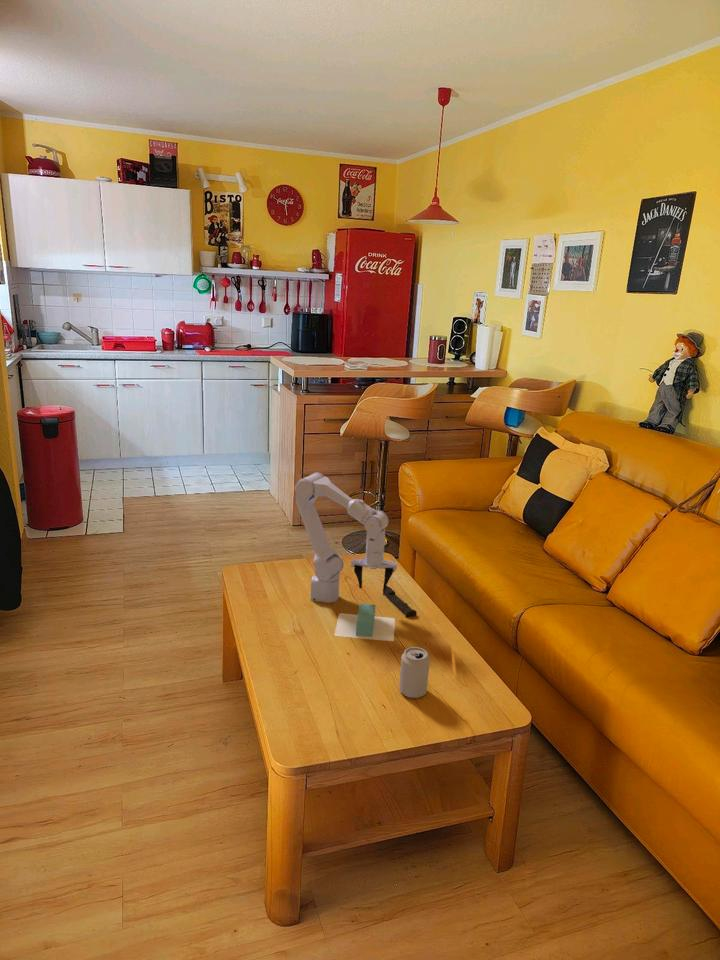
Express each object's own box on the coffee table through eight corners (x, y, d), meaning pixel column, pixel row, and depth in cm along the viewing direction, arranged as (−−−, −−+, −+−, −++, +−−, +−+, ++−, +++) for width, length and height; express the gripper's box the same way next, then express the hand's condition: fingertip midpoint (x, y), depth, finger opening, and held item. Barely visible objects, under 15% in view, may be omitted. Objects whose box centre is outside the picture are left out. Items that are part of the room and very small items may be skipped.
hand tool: (416, 620, 214) (417, 608, 212) (405, 622, 212) (406, 609, 211) (390, 595, 230) (391, 582, 229) (380, 596, 228) (380, 584, 227)
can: (418, 703, 172) (422, 663, 168) (393, 693, 176) (396, 654, 172) (431, 689, 178) (435, 650, 174) (406, 680, 182) (410, 641, 178)
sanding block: (355, 635, 200) (356, 620, 198) (358, 617, 210) (359, 603, 209) (372, 636, 199) (373, 622, 198) (374, 618, 210) (375, 604, 208)
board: (333, 640, 199) (334, 635, 199) (339, 617, 213) (339, 613, 212) (393, 645, 198) (393, 641, 198) (394, 622, 212) (395, 618, 211)
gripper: (351, 552, 206) (348, 591, 210) (397, 556, 205) (394, 595, 209) (353, 543, 212) (351, 581, 216) (398, 547, 211) (395, 585, 215)
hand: (372, 588), depth 213 cm, fingers open, 7 cm apart
